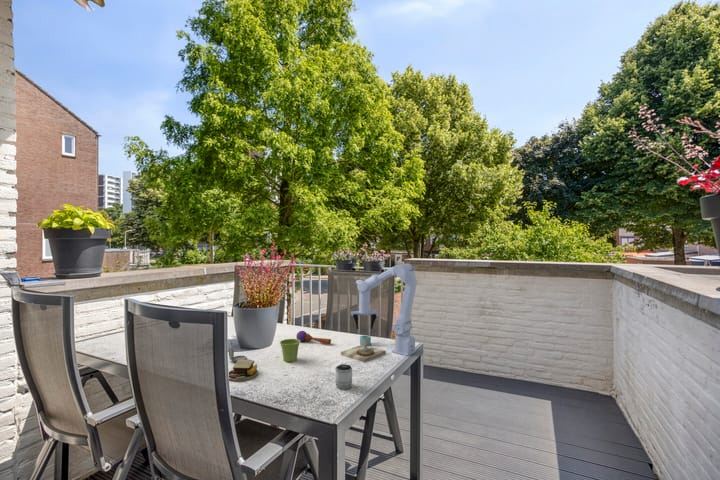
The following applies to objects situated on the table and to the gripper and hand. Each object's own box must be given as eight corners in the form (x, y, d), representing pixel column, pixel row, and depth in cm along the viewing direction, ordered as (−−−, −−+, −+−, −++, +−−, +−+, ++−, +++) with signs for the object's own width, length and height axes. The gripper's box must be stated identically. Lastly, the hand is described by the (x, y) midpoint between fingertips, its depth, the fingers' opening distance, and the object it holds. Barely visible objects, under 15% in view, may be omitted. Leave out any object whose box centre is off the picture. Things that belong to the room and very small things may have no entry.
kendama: (327, 339, 181) (294, 332, 188) (327, 349, 182) (294, 342, 189) (332, 334, 186) (300, 328, 194) (332, 344, 188) (300, 337, 195)
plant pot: (275, 360, 160) (275, 341, 160) (292, 355, 167) (292, 337, 167) (287, 365, 154) (287, 345, 154) (304, 359, 161) (304, 341, 161)
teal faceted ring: (372, 344, 185) (372, 336, 185) (365, 346, 181) (365, 338, 181) (364, 342, 189) (364, 334, 189) (358, 344, 185) (358, 336, 185)
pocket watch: (249, 358, 162) (249, 337, 162) (236, 364, 154) (236, 342, 154) (236, 356, 165) (236, 335, 165) (222, 362, 158) (222, 340, 158)
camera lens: (339, 382, 136) (340, 362, 136) (354, 384, 133) (354, 364, 133) (332, 388, 130) (332, 367, 130) (347, 391, 127) (347, 370, 127)
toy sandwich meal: (219, 381, 137) (219, 369, 137) (236, 368, 150) (236, 358, 150) (249, 383, 135) (249, 371, 135) (263, 370, 148) (263, 359, 148)
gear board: (385, 353, 170) (385, 342, 170) (364, 362, 158) (364, 350, 158) (362, 347, 180) (362, 336, 180) (340, 354, 168) (341, 343, 168)
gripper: (376, 301, 190) (376, 326, 190) (350, 302, 188) (350, 327, 188) (378, 304, 183) (378, 329, 183) (351, 304, 181) (351, 330, 181)
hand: (364, 328), depth 185 cm, fingers open, 7 cm apart
